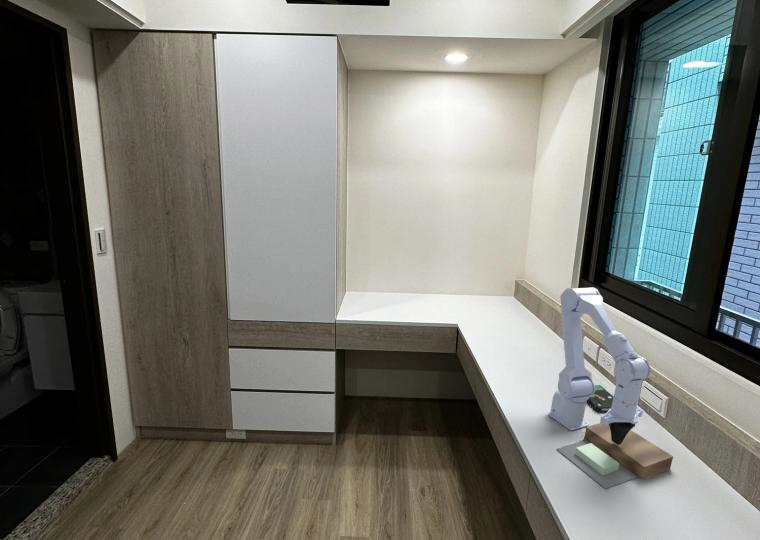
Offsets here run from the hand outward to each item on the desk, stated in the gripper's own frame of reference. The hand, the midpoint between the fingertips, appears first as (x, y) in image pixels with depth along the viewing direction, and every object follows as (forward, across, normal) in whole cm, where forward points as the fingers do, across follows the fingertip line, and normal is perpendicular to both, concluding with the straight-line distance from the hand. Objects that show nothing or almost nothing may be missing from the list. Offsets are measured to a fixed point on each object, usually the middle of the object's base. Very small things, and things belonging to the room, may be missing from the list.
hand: (616, 442), depth 114 cm
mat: (+5, -7, 0) cm, 9 cm away
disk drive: (+6, +23, +23) cm, 33 cm away
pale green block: (+2, -7, 0) cm, 7 cm away
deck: (+5, +5, 0) cm, 7 cm away
